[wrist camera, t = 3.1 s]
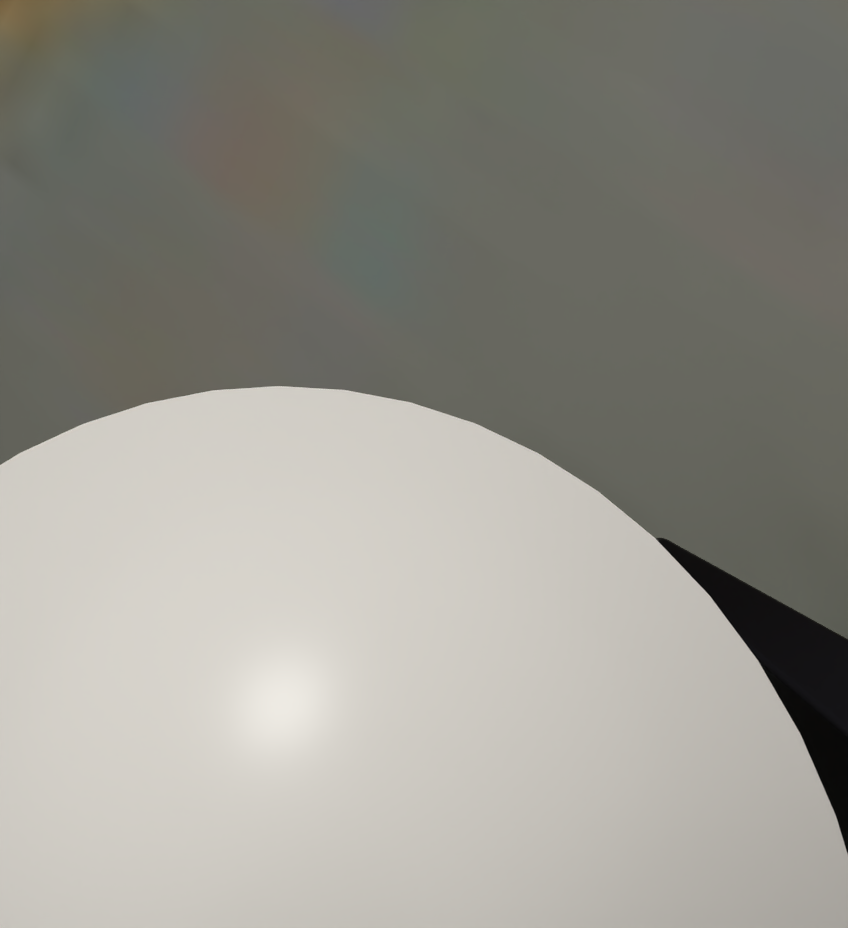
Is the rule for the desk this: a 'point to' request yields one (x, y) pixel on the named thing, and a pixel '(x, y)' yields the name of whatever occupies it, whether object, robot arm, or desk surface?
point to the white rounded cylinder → (375, 689)
